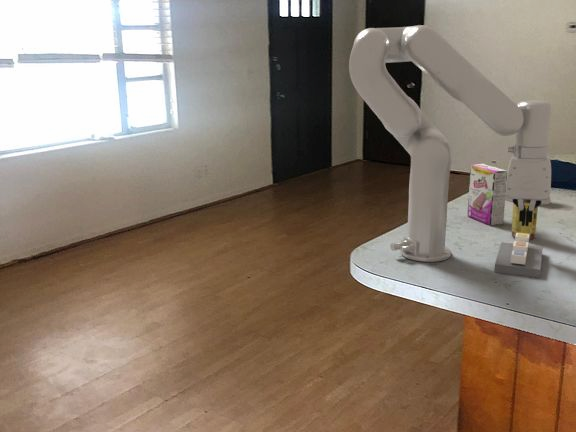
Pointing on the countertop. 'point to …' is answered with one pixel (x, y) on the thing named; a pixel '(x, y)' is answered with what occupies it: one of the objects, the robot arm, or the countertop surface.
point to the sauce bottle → (531, 227)
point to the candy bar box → (487, 194)
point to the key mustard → (522, 237)
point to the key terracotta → (520, 246)
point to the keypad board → (528, 269)
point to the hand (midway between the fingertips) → (525, 224)
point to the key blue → (518, 257)
